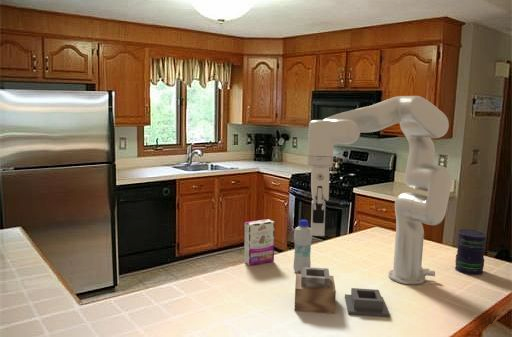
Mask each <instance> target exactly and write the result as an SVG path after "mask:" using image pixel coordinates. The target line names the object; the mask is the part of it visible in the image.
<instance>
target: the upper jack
mask: <svg viewBox="0 0 512 337" xmlns="http://www.w3.org/2000/svg"><path fill="white" fill-rule="evenodd" d="M329 270H330V269H329V268H327V267H326V268H325V267H302V272H300V273H295V284H294V285H295V288H294V309H293V310H294V311H295V312H308V313H309V312H311V313H320V314H321V313H324V314H325V313H326V314H335V313H336V299H337V298H336V297H337V296H336V295H337V294H336V293H337V289H336V284H335V279H334V275H330V271H329Z"/></svg>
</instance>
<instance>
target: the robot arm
mask: <svg viewBox="0 0 512 337" xmlns="http://www.w3.org/2000/svg"><path fill="white" fill-rule="evenodd" d="M396 124H399V127H400V131H402V134H403V135H404V137H405V138H406V139H407V142H408V146H409V151H408V158H407V162H406V168H405V172H404V173H405V174H404V183H405V185H406V186H407V187H408V188H411V189H415V190H417V191H423V192H427V195H425V194H422V193H416V192H410V191H406V192H402V193H400V194H398V196H397V197H396V199H395V201H394V212H395V213H394V214H395V219H396V220H395V221H396V222H395V223H396V224H395V226H396V227H395V228H396V229H395V237H394V238H395V242H394V256H393V269H392V270H390V271H389V272H388V277H389V279H391V280H392V281H394V282H397V283H399V284H404V285H421V284H423V283H425V282H426V276H429V277H436V271H435V270H430V268H423V267H422V265H423V264H422V262H423V253H424V252H423V251H424V250H423V249H424V238H425V231H424V226H423V224H425V225H428V226H429V225H430V226H438V225H439V224H442V222H443V220H444V218H445V216H446V213H447V208H448V204H449V199H450V194H451V187H452V182H453V181H452V174H451V172H450V170H449V169H448V168H447V167H446V166H443V165H438V164H434V160H435V154H436V150H435V149H436V148H435V145H434V142H433V140H432V139H440V138H442V137H443V136H445V135H446V134H447V133H448V131H449V127H450V124H449V119H448V116H446V114H445V113H444V112H443V111H442V110H440V109H439V108H438V107H437V106H436V105H434V104H433V103H432V102H431V101H429V100H428V99H426V98H424V97H422V96H419V95H397V96H393V97H391V98H390V97H389V98H388V99H385V100H383V101H380V102H377V103H373V104H372V105H369V106H363V107H360V108H355V109H352V110H351V109H350V110H348V111H344V112H340V113H336V114H333V115H331V116H328V117H325V118H324V119H313V120H311V121H310V122H309V123H308V136H307V141H308V142H307V165H306V166H307V167H309V168H311V170H310V175H311V176H310V178H311V179H310V188H311V190H310V191H311V198H312V199H311V200H314V210H313V223H324V210H323V209H324V201H325V200H326V201H329V200H330V197H329V196H330V168H333V166H334V165H333V164H334V163H333V162H334V145H335V144H337V145H338V144H339V145H351V144H354V143H355V142H357V141H358V139H359V138H360V136H361V133H373V132H379V131H382V130H385V129H386V128H388V127H391V126H394V125H396ZM316 198H317V200H316ZM326 201H325V202H326Z"/></svg>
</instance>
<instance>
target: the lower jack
mask: <svg viewBox="0 0 512 337" xmlns="http://www.w3.org/2000/svg"><path fill="white" fill-rule="evenodd" d="M350 291H351V292H350V294H346V293H345V294H344V301H345V305H346V309H347V313H348V315H353V316H363V317H365V316H366V317H377V318H378V317H380V318H390V317H391V314H390V311H389V308H388V306H387V304H386V302H385V299H384V297H383V296H382V295H381V292H380V290H379V289H371V288H355V287H354V288H353V287H351V290H350Z"/></svg>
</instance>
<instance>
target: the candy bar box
mask: <svg viewBox="0 0 512 337" xmlns="http://www.w3.org/2000/svg"><path fill="white" fill-rule="evenodd" d="M243 245H244V254H243V255H244V259H243V260H244V263H245V264H247V265H248V266H255V265H262V264H267V263H272V262H274V261H275V221H274V220H271V219H269V218H268V219H267V218H266V219H260V220H253V221H245V222H244V244H243Z"/></svg>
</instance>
